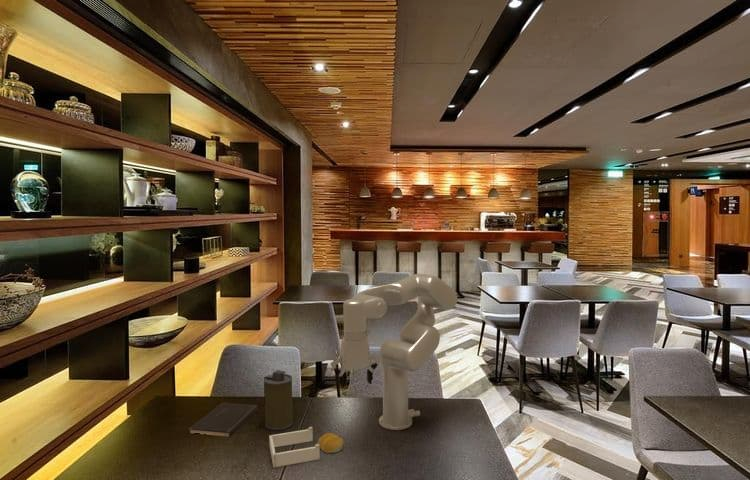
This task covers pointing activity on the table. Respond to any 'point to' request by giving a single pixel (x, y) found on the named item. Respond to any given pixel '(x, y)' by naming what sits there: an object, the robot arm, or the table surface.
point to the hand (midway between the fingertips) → (355, 384)
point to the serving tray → (293, 455)
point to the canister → (278, 400)
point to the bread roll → (330, 443)
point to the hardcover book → (224, 419)
